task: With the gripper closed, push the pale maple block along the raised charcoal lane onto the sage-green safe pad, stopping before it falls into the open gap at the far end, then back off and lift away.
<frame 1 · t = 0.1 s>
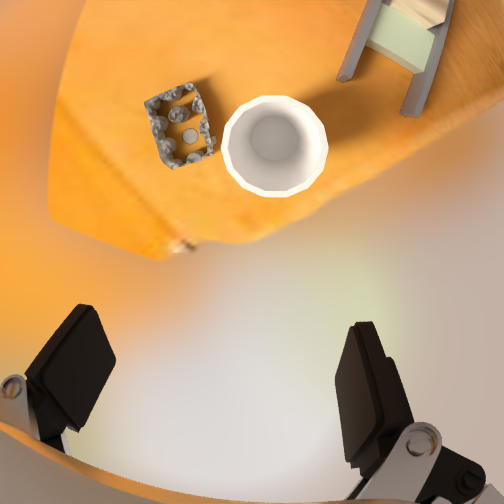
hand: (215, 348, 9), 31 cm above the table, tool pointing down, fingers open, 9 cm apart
foam cup: (274, 137, 35), on the table
egg carton: (186, 125, 35), on the table
safe pad: (394, 39, 26), resting in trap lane
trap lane: (399, 23, 25), on the table
maple block: (412, 4, 21), point 3 cm above the table, touching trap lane
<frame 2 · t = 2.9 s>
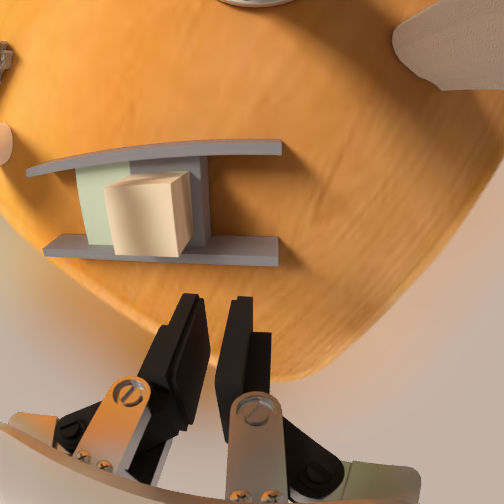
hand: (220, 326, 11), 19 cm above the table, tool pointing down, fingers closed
foam cup: (2, 143, 26), on the table
paper towel roll: (415, 53, 19), on the table
safe pad: (119, 197, 29), resting in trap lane
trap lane: (146, 195, 28), on the table
maple block: (161, 203, 25), point 3 cm above the table, touching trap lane
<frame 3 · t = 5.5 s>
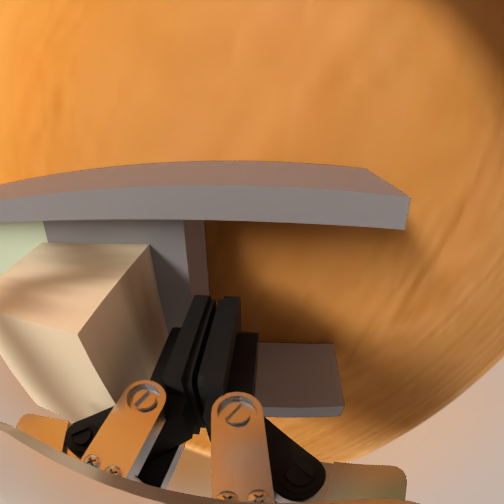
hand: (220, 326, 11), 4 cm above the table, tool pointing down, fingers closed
safe pad: (52, 262, 15), resting in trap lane
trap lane: (92, 265, 14), on the table
maple block: (104, 302, 12), point 3 cm above the table, touching gripper
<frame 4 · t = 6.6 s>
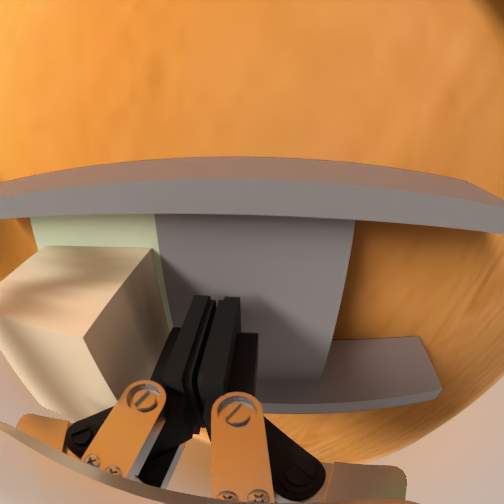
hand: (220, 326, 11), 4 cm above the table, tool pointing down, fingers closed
safe pad: (127, 264, 14), resting in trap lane
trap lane: (187, 268, 14), on the table
maple block: (107, 304, 12), point 3 cm above the table, touching gripper
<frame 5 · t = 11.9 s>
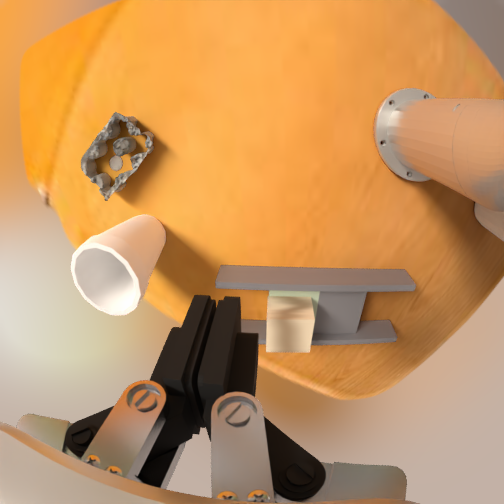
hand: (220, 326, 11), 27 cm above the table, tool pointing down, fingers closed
foam cup: (147, 234, 40), on the table
egg carton: (123, 152, 35), on the table
paper towel roll: (484, 208, 33), on the table
safe pad: (291, 298, 42), resting in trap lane
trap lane: (314, 299, 42), on the table
maple block: (288, 313, 40), point 3 cm above the table, touching safe pad
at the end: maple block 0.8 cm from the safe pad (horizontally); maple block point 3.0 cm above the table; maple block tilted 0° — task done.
